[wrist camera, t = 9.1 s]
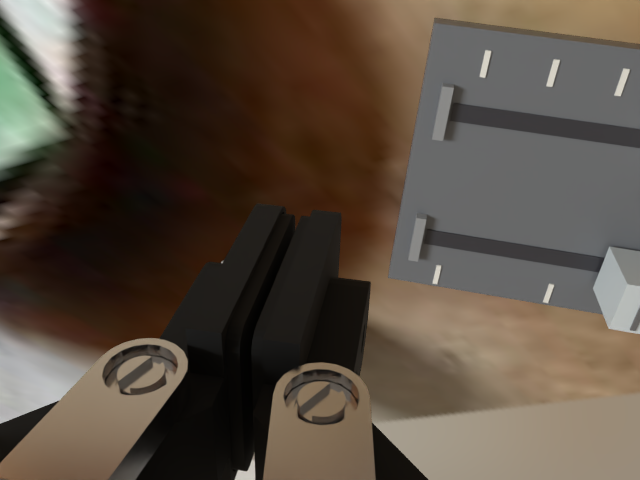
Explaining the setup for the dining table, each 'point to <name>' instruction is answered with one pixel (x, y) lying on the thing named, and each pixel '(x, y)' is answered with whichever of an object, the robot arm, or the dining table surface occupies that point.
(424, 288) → the dining table surface
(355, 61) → the dining table surface
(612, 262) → the fader
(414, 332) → the dining table surface
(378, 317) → the dining table surface
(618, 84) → the console
